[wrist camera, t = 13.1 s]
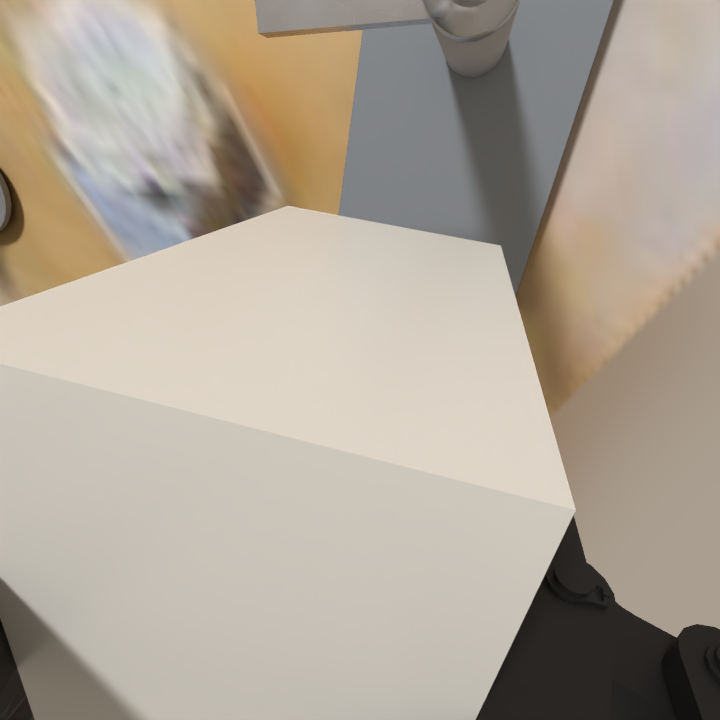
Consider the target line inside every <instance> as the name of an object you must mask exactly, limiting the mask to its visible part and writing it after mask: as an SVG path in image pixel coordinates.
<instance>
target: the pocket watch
mask: <svg viewBox="0 0 720 720" xmlns="http://www.w3.org/2000/svg"><path fill="white" fill-rule="evenodd" d="M11 206H12V203H11V198H10V193H9V190H8V187H7V185H6V182H5V180H4V178H3V176H2V175H1V173H0V231H1V230H2V229H3V228H4V227H5V226H6V225H7V223H8V221H9V219H10V215H11Z"/></svg>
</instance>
